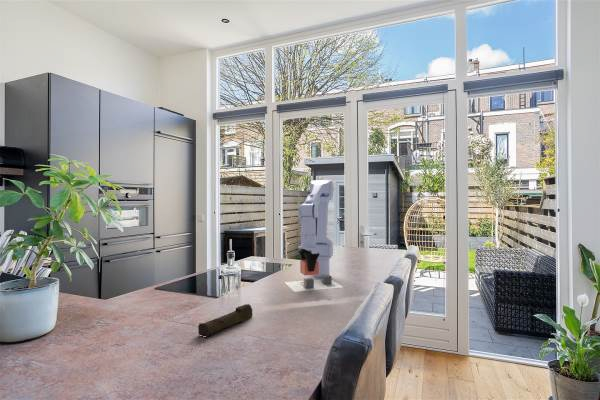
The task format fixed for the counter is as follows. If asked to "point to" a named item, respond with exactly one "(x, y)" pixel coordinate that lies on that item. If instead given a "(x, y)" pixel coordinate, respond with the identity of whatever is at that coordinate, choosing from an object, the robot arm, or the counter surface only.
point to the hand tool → (226, 320)
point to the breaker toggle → (309, 283)
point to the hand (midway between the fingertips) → (308, 269)
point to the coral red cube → (305, 269)
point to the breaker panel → (318, 284)
